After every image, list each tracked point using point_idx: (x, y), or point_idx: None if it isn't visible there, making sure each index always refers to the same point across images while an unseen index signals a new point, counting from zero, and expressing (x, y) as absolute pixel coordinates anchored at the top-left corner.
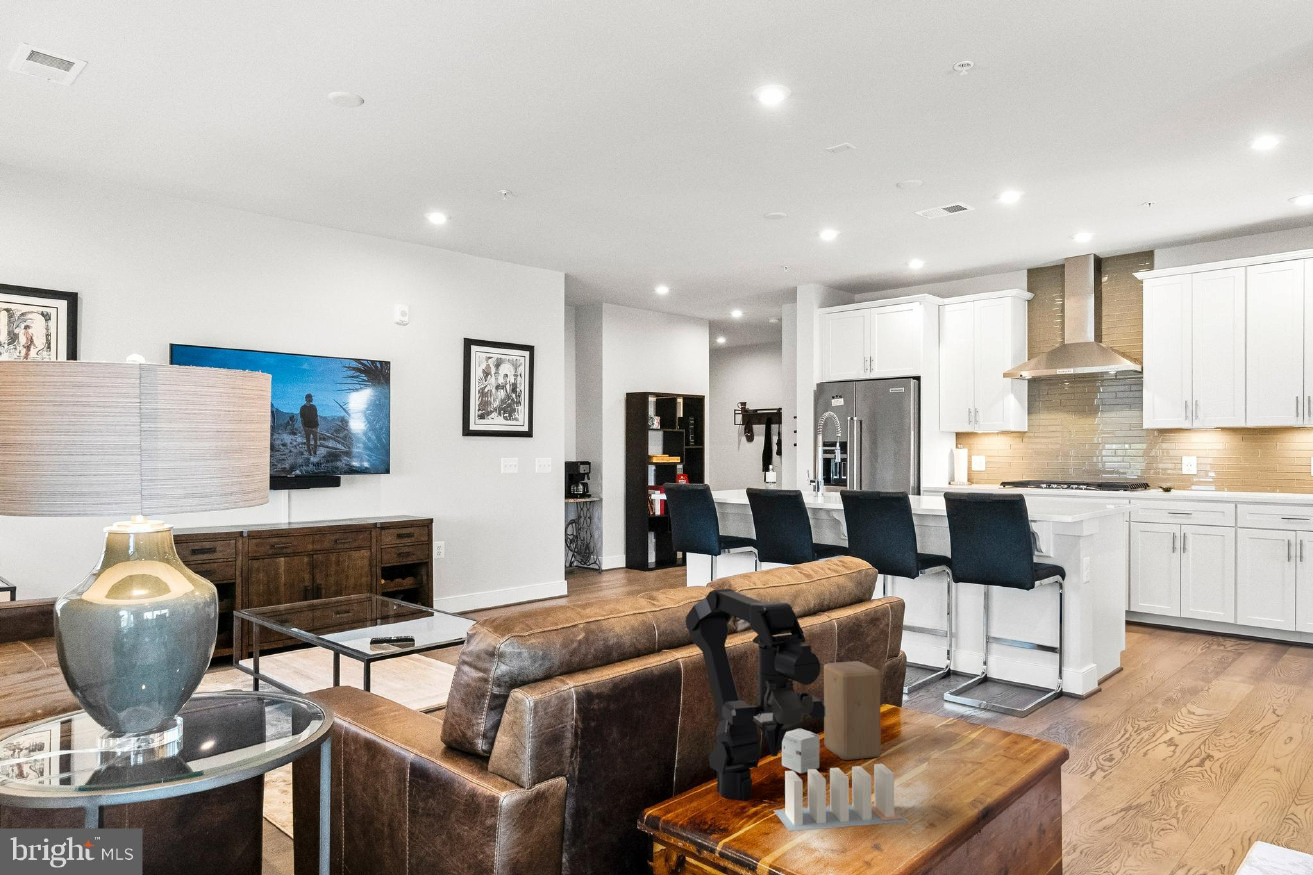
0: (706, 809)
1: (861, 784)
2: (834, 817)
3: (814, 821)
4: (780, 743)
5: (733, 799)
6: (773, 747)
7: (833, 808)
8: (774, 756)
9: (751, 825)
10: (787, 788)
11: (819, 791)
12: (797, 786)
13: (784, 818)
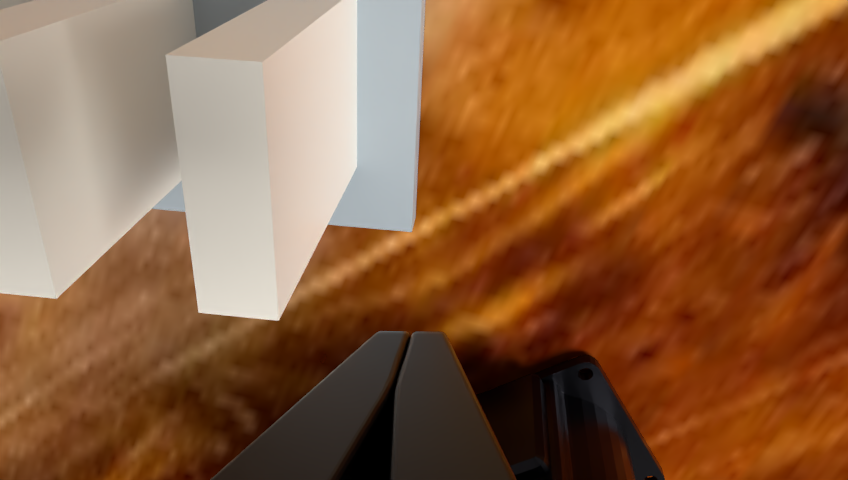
0: (757, 377)
1: None
2: None
3: (203, 13)
4: (274, 445)
5: (584, 406)
6: (436, 409)
7: None
8: (419, 334)
9: (602, 129)
10: (311, 201)
11: (49, 15)
12: (244, 45)
13: (385, 106)
